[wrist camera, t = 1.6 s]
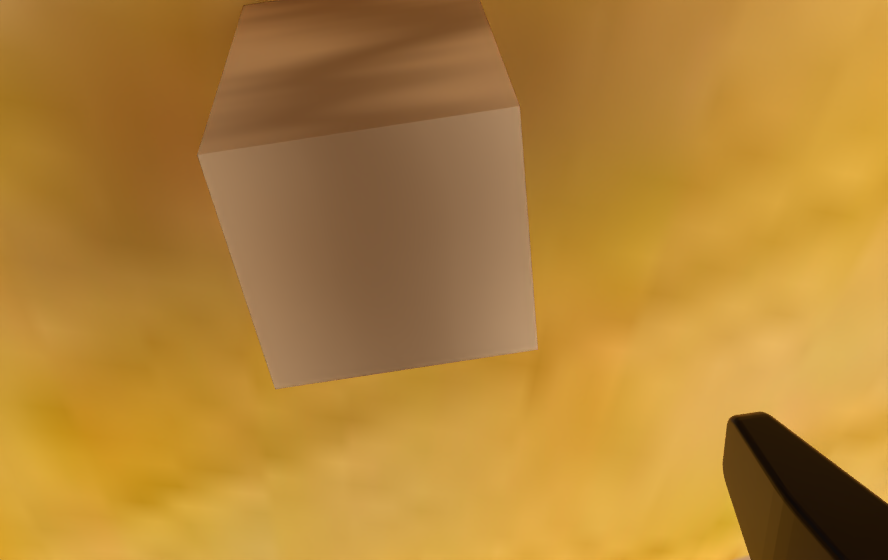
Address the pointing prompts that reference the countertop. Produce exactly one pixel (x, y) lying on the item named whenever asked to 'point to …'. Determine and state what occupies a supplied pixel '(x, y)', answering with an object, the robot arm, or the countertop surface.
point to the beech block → (372, 186)
